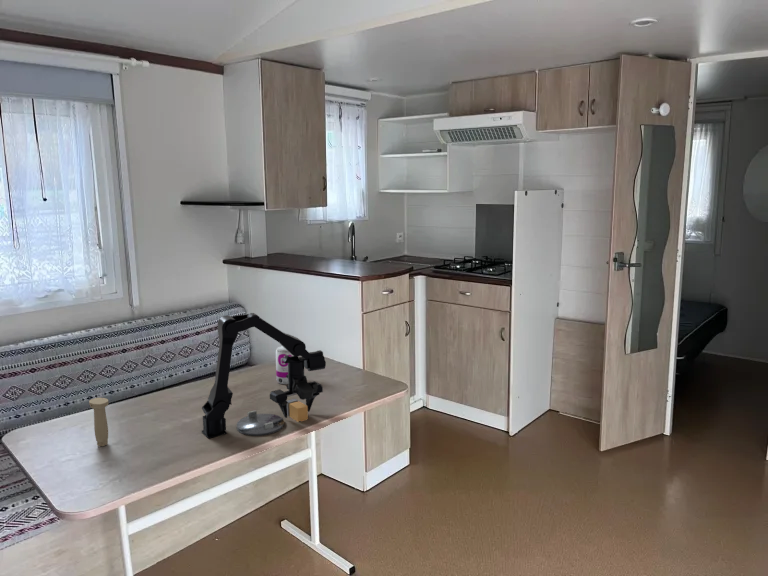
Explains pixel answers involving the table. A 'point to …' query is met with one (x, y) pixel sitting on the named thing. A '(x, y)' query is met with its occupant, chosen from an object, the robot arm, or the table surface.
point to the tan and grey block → (297, 410)
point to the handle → (100, 420)
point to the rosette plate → (259, 424)
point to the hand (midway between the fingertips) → (297, 414)
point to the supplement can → (281, 365)
